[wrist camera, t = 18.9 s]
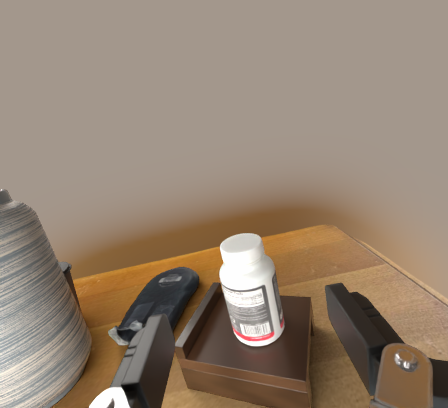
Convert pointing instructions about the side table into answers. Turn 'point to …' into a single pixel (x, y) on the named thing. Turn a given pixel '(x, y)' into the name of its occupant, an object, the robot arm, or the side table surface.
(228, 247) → the pill bottle
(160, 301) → the electronic device
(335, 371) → the side table surface
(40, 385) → the vase
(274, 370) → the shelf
